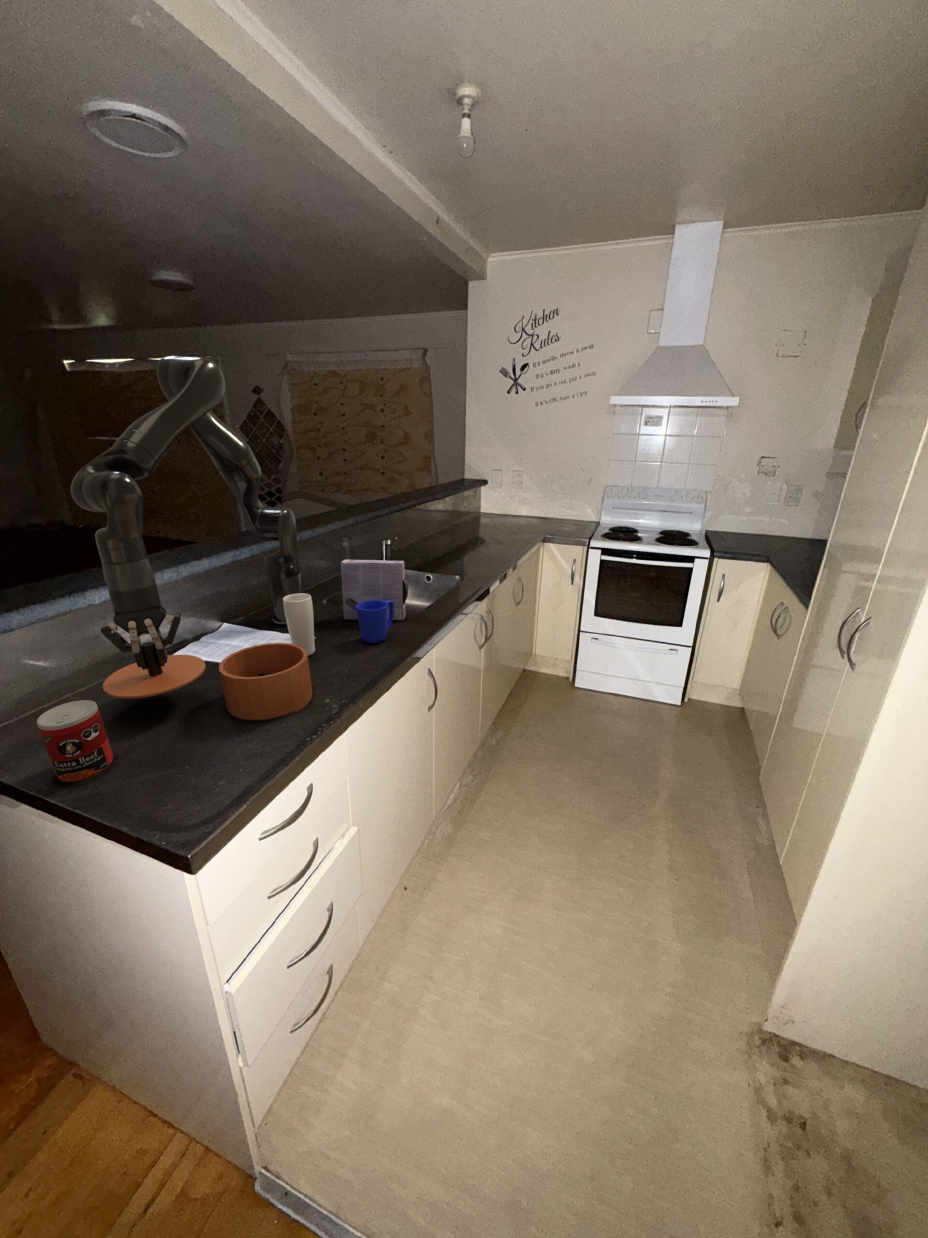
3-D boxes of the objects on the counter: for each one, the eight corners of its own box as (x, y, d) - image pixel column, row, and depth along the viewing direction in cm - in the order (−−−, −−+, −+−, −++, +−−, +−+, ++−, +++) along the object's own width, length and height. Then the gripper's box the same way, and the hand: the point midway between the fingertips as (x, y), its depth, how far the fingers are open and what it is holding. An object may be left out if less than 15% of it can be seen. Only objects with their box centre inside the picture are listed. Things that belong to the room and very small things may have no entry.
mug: (405, 633, 135) (403, 599, 132) (375, 648, 126) (372, 612, 122) (382, 627, 139) (380, 594, 136) (352, 641, 130) (349, 606, 126)
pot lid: (112, 669, 101) (102, 636, 98) (206, 653, 108) (199, 621, 105) (95, 710, 86) (83, 672, 83) (206, 688, 93) (197, 652, 90)
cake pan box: (409, 615, 149) (407, 558, 142) (407, 621, 144) (404, 563, 138) (347, 614, 149) (342, 558, 143) (343, 620, 144) (337, 563, 138)
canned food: (52, 791, 76) (29, 731, 72) (63, 762, 82) (43, 706, 78) (111, 776, 79) (92, 718, 75) (117, 749, 86) (100, 695, 82)
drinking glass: (322, 648, 126) (315, 593, 121) (312, 659, 120) (304, 602, 114) (297, 647, 127) (289, 592, 121) (286, 658, 120) (277, 601, 115)
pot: (226, 691, 105) (218, 651, 102) (305, 675, 112) (300, 637, 108) (229, 730, 91) (219, 686, 88) (318, 709, 98) (313, 667, 94)
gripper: (175, 573, 96) (193, 652, 102) (90, 582, 90) (115, 666, 96) (173, 583, 89) (192, 667, 96) (81, 594, 84) (108, 682, 90)
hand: (153, 666), depth 96 cm, fingers closed on pot lid, 2 cm apart
